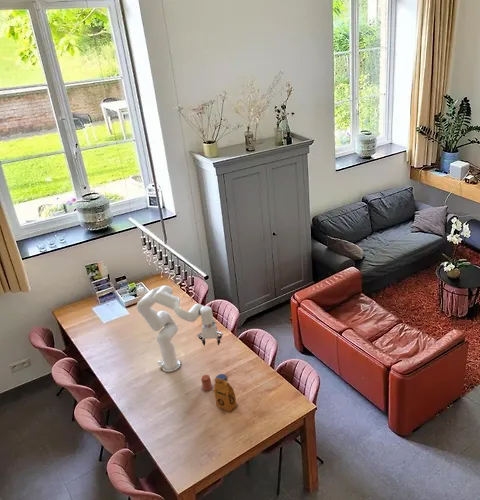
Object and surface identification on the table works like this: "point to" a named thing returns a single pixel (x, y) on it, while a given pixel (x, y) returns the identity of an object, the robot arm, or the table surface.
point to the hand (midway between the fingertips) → (211, 344)
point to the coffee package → (224, 395)
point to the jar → (206, 382)
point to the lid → (221, 376)
